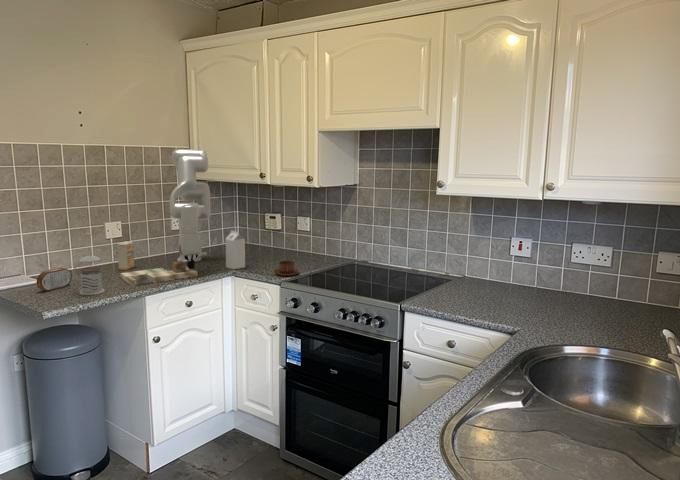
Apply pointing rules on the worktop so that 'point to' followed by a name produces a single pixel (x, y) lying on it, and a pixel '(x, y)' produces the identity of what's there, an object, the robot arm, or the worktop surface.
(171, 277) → the trap board
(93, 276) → the french press
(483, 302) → the worktop surface
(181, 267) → the walnut block
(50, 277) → the brown grey rounded block
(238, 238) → the milk carton
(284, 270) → the cup and saucer
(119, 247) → the supplement box
